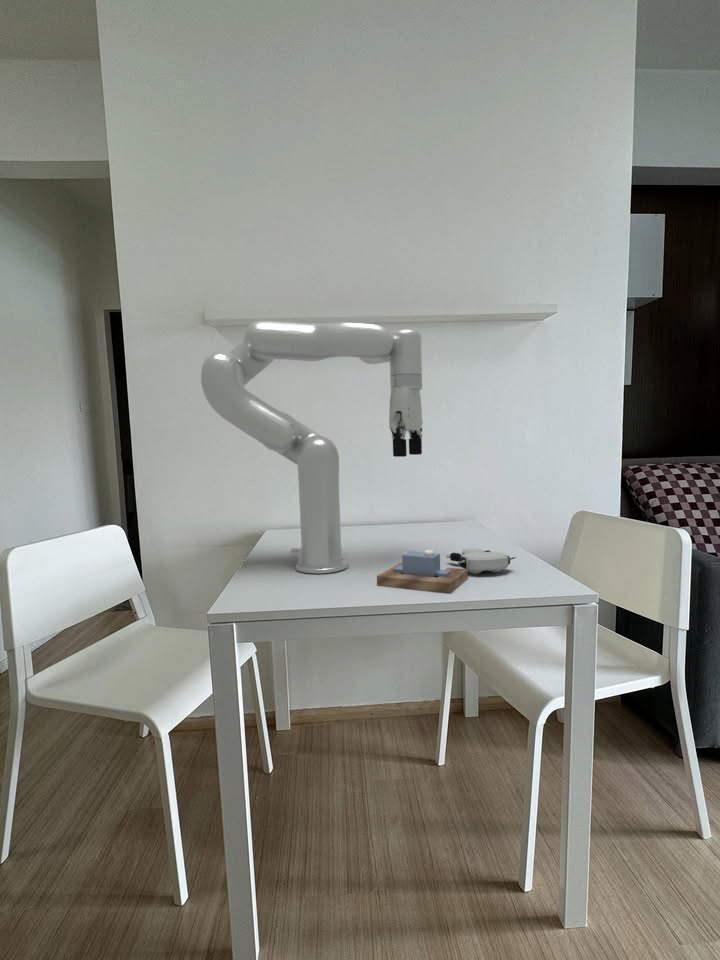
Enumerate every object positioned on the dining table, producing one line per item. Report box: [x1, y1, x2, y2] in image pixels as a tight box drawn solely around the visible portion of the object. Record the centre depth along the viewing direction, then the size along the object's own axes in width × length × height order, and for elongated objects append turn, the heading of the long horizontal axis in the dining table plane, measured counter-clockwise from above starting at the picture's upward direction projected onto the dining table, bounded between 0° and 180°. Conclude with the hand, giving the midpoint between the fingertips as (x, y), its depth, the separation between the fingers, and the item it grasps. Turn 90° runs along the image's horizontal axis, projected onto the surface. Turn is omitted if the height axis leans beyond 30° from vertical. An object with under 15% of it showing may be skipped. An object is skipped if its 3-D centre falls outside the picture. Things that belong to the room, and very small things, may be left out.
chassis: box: [376, 563, 469, 594], centre depth 117 cm, size 16×12×2 cm
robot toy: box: [445, 547, 517, 575], centre depth 127 cm, size 12×4×15 cm
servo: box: [393, 549, 451, 578], centre depth 117 cm, size 12×4×7 cm, turn 63°
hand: (407, 455), depth 133 cm, fingers open, 9 cm apart
